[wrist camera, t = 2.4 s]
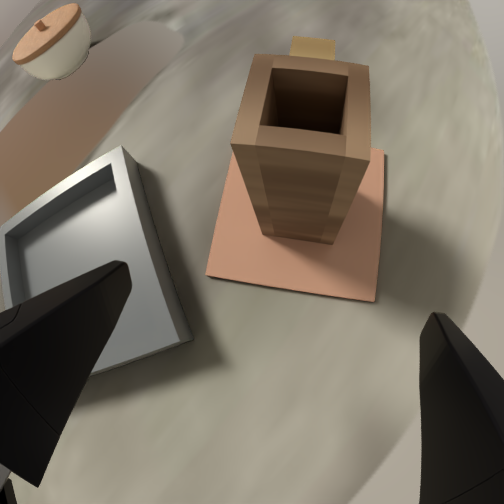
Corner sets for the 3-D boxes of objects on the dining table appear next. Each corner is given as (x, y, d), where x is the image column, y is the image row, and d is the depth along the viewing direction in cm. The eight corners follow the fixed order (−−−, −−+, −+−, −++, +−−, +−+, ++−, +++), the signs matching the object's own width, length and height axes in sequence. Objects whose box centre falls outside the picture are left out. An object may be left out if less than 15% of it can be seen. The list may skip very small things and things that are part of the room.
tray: (194, 339, 22) (179, 341, 19) (47, 389, 22) (25, 393, 19) (136, 161, 26) (121, 145, 23) (16, 236, 26) (-3, 229, 23)
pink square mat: (372, 302, 21) (394, 295, 16) (206, 275, 23) (184, 262, 18) (382, 152, 23) (398, 118, 18) (238, 133, 25) (227, 97, 20)
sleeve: (332, 245, 22) (370, 161, 10) (262, 234, 23) (230, 143, 11) (340, 160, 23) (366, 42, 11) (277, 152, 24) (261, 31, 12)
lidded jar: (104, 28, 33) (78, -15, 24) (101, 67, 30) (66, 17, 21) (46, 61, 34) (16, 26, 25) (36, 106, 31) (-4, 67, 22)
